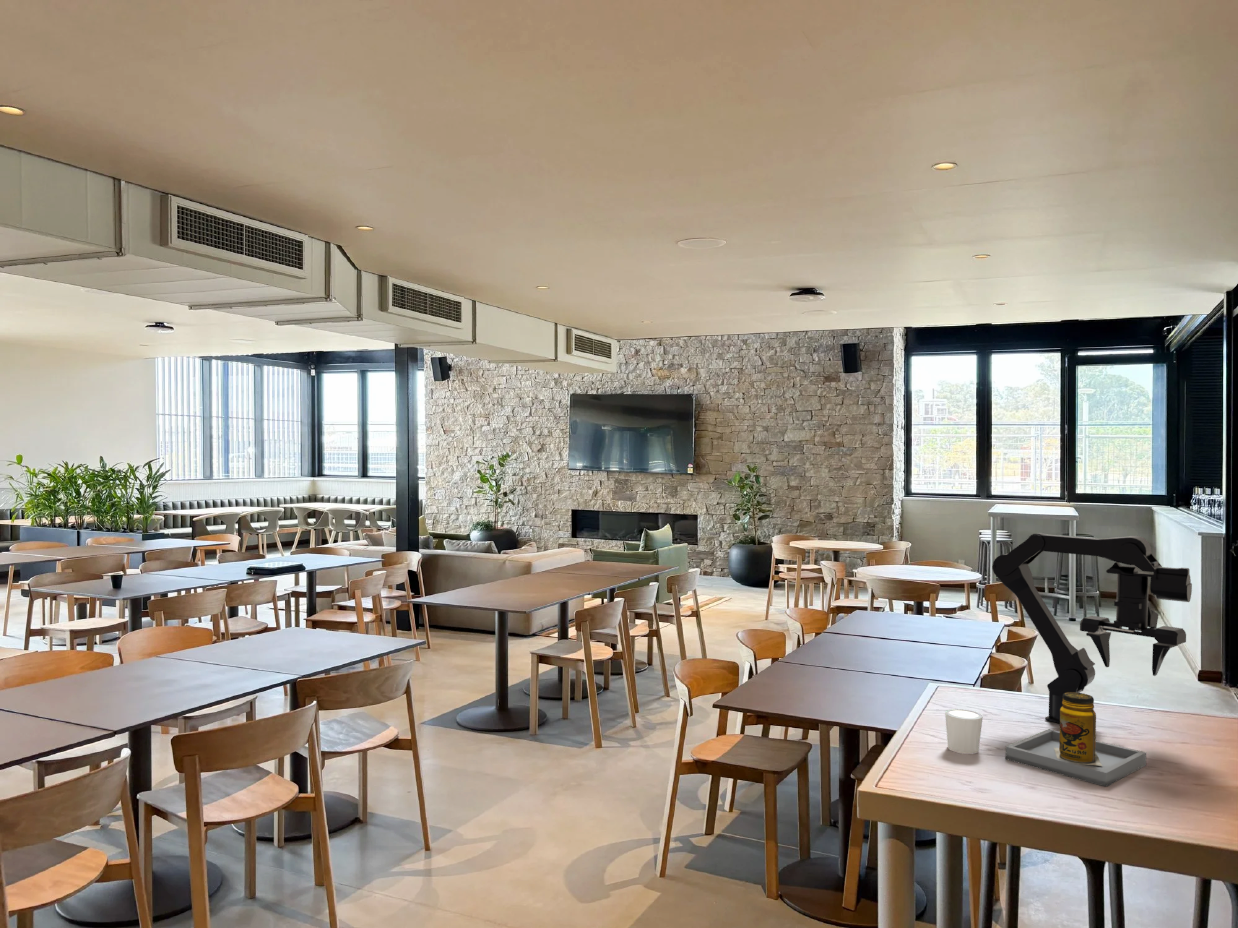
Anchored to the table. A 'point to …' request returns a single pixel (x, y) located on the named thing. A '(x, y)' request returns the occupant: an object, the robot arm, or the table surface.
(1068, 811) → the table surface
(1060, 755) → the condiment
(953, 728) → the shot glass
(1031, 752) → the tray
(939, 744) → the table surface
